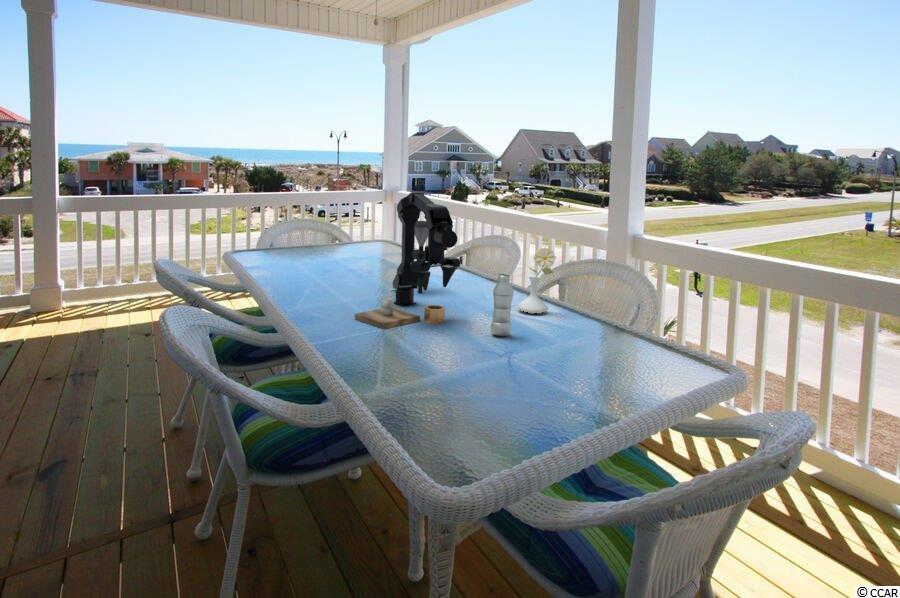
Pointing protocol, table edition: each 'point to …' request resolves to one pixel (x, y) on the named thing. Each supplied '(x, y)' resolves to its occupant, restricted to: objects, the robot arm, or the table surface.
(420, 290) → the solar garden light
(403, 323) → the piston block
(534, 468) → the table surface
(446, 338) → the table surface
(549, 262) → the flower in vase
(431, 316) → the brown octagonal cup
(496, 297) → the plastic bottle
